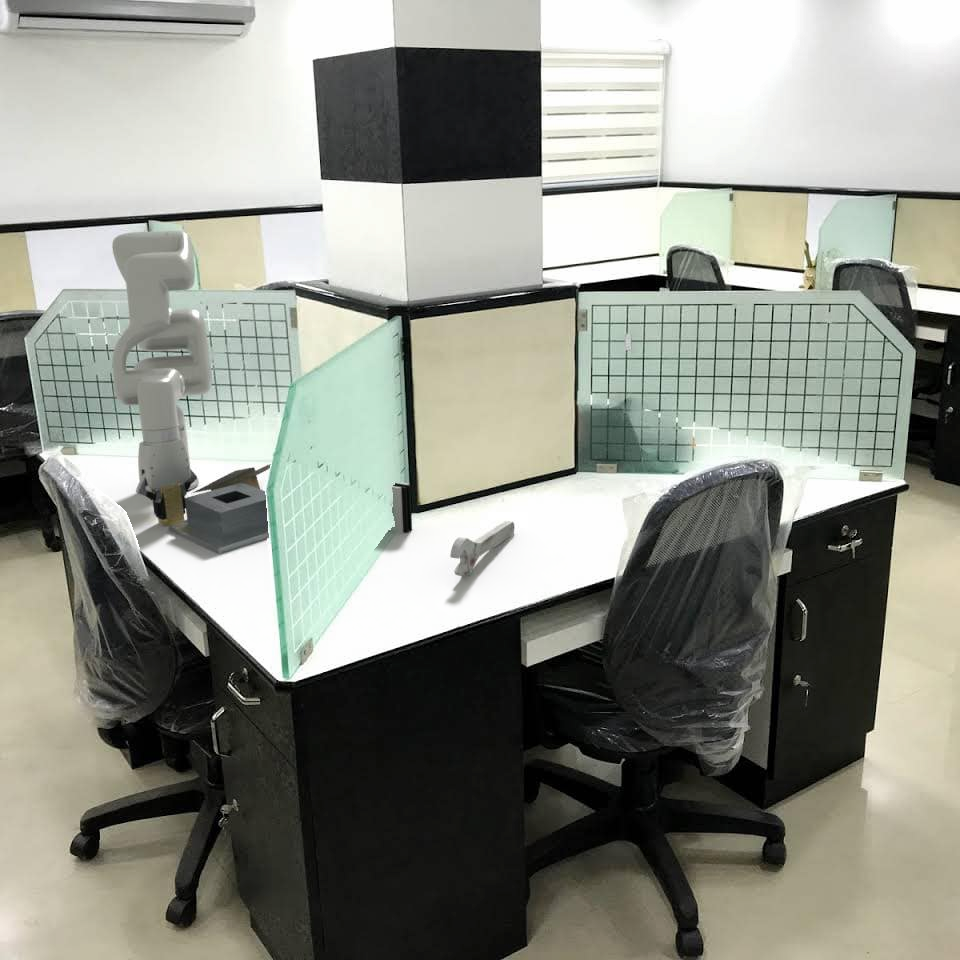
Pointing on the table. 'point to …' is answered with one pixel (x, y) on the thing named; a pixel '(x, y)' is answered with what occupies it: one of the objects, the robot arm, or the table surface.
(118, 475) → the table surface
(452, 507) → the table surface
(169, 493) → the brass pin
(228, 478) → the beige piece
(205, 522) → the collar block
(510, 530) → the wrench
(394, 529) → the hinge
